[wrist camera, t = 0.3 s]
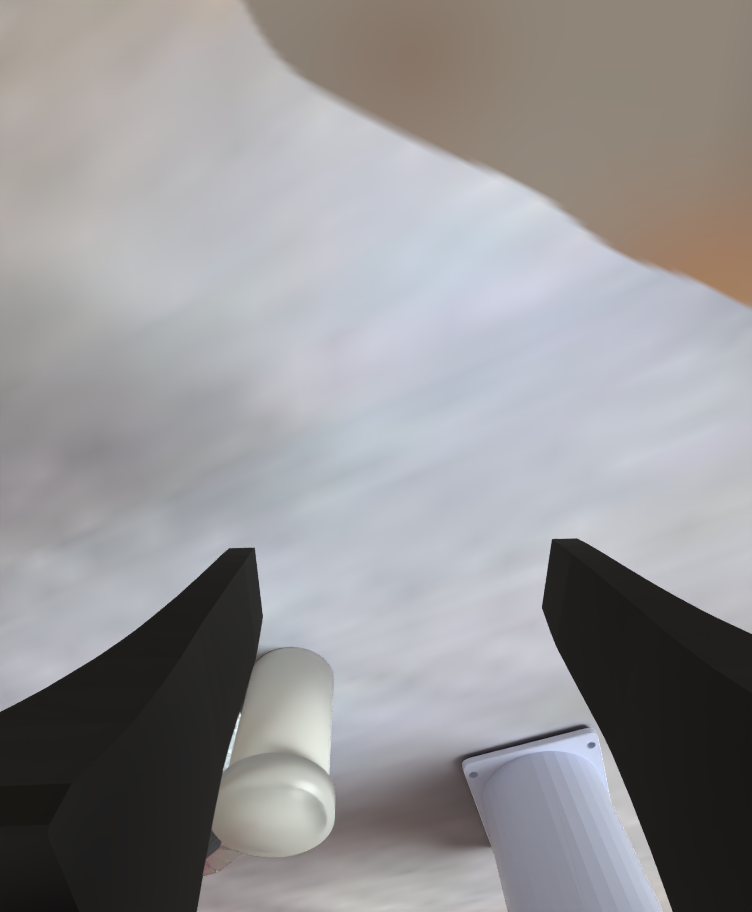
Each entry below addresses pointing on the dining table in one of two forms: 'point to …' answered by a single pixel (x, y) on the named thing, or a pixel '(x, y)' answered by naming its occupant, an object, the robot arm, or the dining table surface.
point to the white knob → (280, 759)
